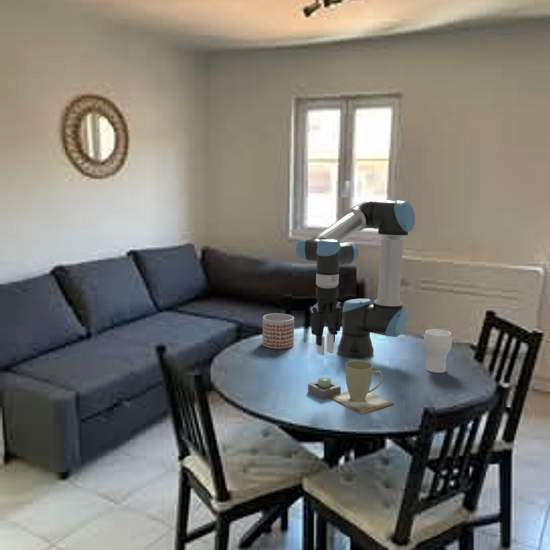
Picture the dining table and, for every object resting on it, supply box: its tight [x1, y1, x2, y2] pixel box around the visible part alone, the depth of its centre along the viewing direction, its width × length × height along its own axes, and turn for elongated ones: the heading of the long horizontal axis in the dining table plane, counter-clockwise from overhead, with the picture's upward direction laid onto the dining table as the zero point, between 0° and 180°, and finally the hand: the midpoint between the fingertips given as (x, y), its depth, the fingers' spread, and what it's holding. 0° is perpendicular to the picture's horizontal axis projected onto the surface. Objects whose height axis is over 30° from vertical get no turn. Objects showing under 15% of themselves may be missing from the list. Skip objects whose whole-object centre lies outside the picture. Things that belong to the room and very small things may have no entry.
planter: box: [262, 313, 295, 351], centre depth 249 cm, size 14×14×13 cm
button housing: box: [307, 380, 342, 401], centre depth 196 cm, size 8×8×3 cm
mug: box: [344, 359, 384, 402], centre depth 189 cm, size 11×10×12 cm
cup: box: [422, 328, 453, 374], centre depth 220 cm, size 11×11×15 cm
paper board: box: [328, 390, 394, 415], centre depth 190 cm, size 16×14×1 cm
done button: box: [317, 376, 332, 389], centre depth 196 cm, size 4×4×3 cm
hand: (325, 353), depth 194 cm, fingers open, 3 cm apart
